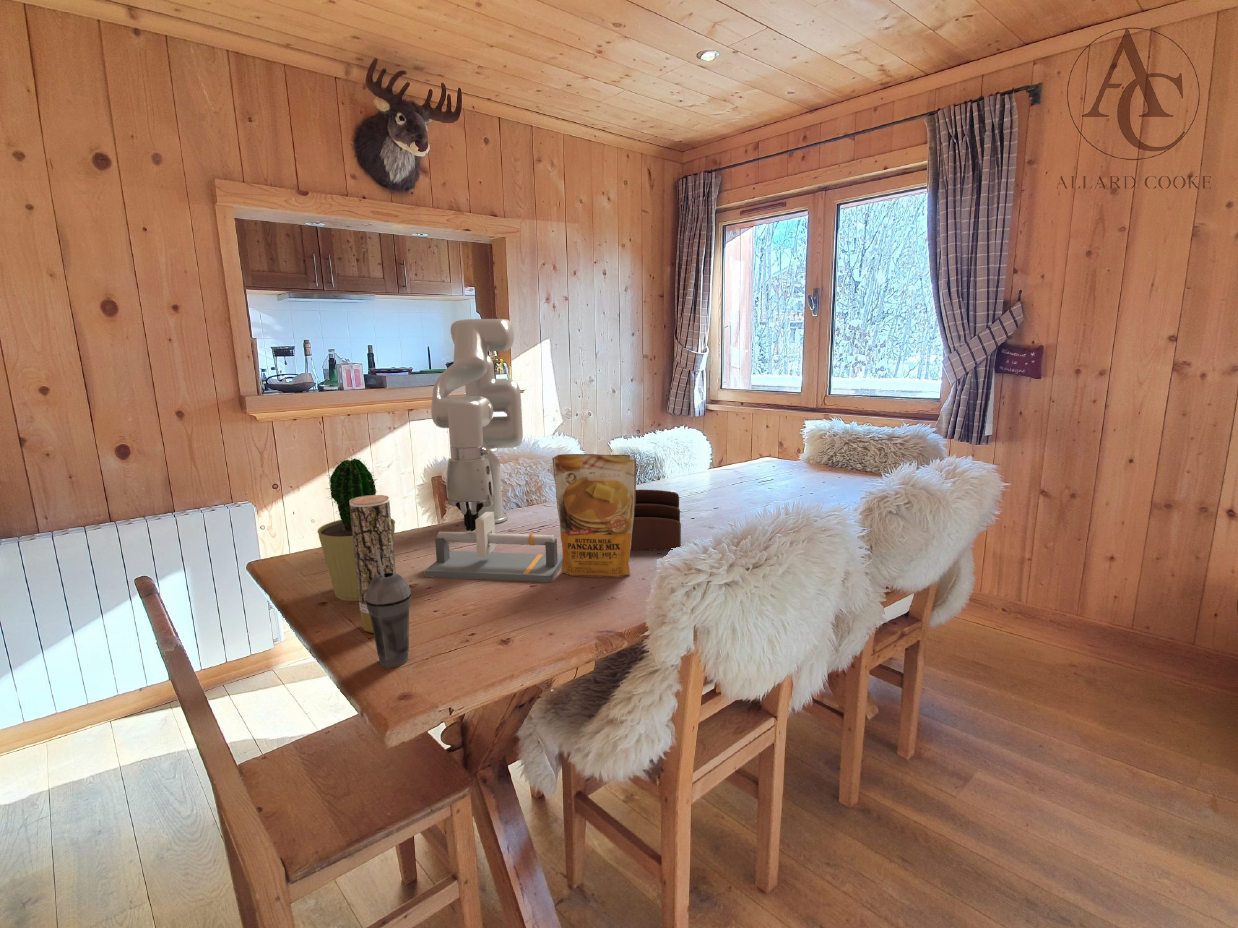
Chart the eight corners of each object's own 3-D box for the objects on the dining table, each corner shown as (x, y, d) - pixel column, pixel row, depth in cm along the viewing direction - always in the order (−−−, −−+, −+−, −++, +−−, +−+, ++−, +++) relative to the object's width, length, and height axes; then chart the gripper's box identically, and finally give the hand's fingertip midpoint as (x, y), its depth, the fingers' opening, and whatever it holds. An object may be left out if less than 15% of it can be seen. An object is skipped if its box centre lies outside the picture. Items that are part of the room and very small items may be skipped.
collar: (487, 547, 149) (485, 511, 147) (495, 547, 149) (493, 512, 147) (477, 557, 142) (475, 519, 140) (485, 557, 142) (483, 520, 140)
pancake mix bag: (559, 566, 147) (555, 451, 142) (637, 568, 145) (637, 452, 139) (552, 576, 140) (548, 457, 135) (634, 579, 138) (634, 458, 133)
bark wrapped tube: (387, 635, 112) (375, 505, 108) (354, 632, 114) (341, 503, 109) (406, 619, 119) (396, 495, 114) (375, 617, 120) (363, 494, 115)
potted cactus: (391, 572, 144) (380, 447, 138) (408, 594, 131) (396, 457, 126) (320, 586, 136) (305, 454, 130) (330, 611, 123) (314, 466, 117)
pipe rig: (449, 556, 155) (447, 523, 153) (565, 560, 151) (563, 526, 149) (424, 576, 141) (422, 540, 139) (551, 582, 137) (549, 544, 135)
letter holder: (606, 538, 168) (606, 488, 165) (678, 538, 167) (679, 488, 164) (604, 550, 158) (603, 497, 155) (680, 550, 157) (681, 497, 155)
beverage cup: (424, 660, 103) (415, 548, 100) (382, 676, 98) (371, 559, 95) (404, 646, 109) (395, 538, 105) (363, 661, 103) (352, 548, 100)
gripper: (503, 451, 144) (507, 525, 147) (443, 450, 146) (448, 523, 149) (492, 456, 136) (496, 535, 140) (429, 455, 139) (435, 533, 142)
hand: (471, 529), depth 145 cm, fingers closed
